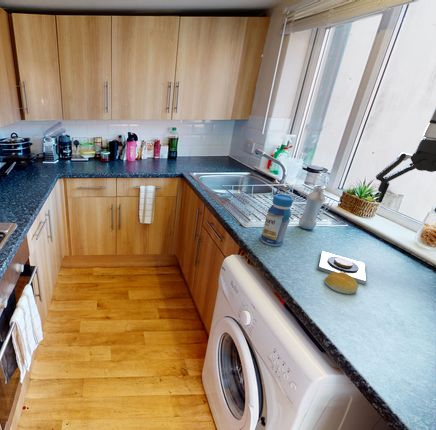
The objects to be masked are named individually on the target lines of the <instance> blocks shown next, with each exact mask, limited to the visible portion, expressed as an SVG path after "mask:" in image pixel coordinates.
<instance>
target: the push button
mask: <svg viewBox="0 0 436 430" xmlns="http://www.w3.org/2000/svg"><path fill="white" fill-rule="evenodd" d="M318 262H319V263H318V268H317V271H321V272H323V273H327V274H328V275H329V274H330V273H333V272H343V273H346V274H348V275H350V276H352V277H353V278H354V279H355V280H356V282H357V284H360V285H365V284H366V282H367V273H366V263H365V262H363V261H358V260H355V259H351V258H348V257H344V256H340V255H337V254H334V253H331V252H326V251H323V250H321V254H320V258H319V261H318Z"/></svg>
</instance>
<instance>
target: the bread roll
mask: <svg viewBox="0 0 436 430" xmlns="http://www.w3.org/2000/svg"><path fill="white" fill-rule="evenodd" d="M324 283H325V284H326V285H327V286H328V287H329V288H330V289H331V290H333V291H334V292H337V293H340V294H349V295H350V294H354V293H356V292H357V291H358V288H359V283H358V282H356V280H355V279H354V278H353V277H352V276H350V275H348V274H346V273H343V272H333V273H330V274H329V273H328V275H327V277H325V278H324Z"/></svg>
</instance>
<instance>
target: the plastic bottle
mask: <svg viewBox="0 0 436 430" xmlns="http://www.w3.org/2000/svg"><path fill="white" fill-rule="evenodd" d="M325 189H326V187H325V186H323V185H319V184H317V185H314V187H313V191H311V192H309V194H308V195H307V196H306V202H305V205H304V206H305V207H304V209H303V210H304V211H303V212H302V214H301V216H300V218H299V219H298V226H299V227H300V228H302V229H305V230H313V229H315V227H316V226H317V221H318V217H319V213H320V211H321V208H322V207H323V204H324V203H325V201H326V197H325V194H324V192H325Z"/></svg>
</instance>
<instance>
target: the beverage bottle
mask: <svg viewBox="0 0 436 430" xmlns="http://www.w3.org/2000/svg"><path fill="white" fill-rule="evenodd" d="M272 198H273V199H272V205H271V206H269V208H268V209H267V214H266V215H265V220H264V224H263V229H262V233H261V235H260V240H261V242H263V243H264V244H266V245H269V246H273V247H279V246H281V245H282V244H283V243H284V238H285V235H286V232H287V229H288V226H289V224H290V221H291V219H290V217H292V210H291V207H292V206H293V203H294V198H293V196H291V195H288V194H284V193H276V194H274V196H273V197H272Z"/></svg>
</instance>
